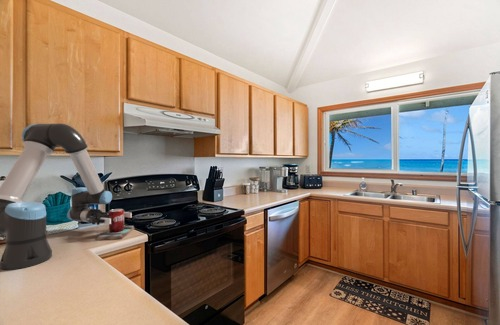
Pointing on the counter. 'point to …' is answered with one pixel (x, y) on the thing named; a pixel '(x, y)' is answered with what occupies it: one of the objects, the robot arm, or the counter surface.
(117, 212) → the soda can
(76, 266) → the counter surface
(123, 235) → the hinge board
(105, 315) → the counter surface
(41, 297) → the counter surface
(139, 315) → the counter surface
